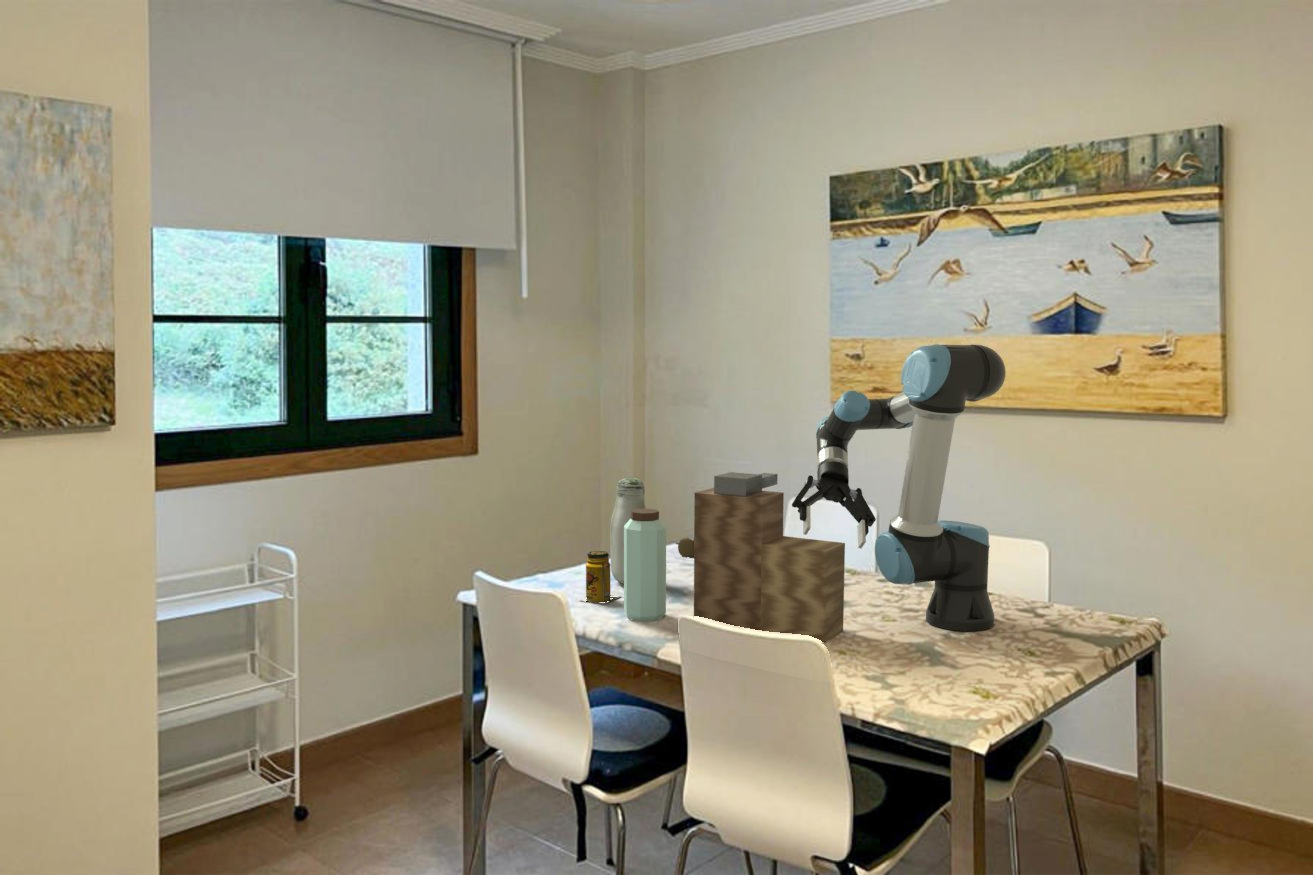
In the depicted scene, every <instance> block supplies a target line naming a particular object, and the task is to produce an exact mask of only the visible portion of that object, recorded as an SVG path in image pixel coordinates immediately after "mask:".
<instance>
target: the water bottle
mask: <svg viewBox="0 0 1313 875" xmlns="http://www.w3.org/2000/svg"><path fill="white" fill-rule="evenodd" d="M659 518H660V511H659V510H658V509H655V508H646V509H635V510H631V519H630V520H629V521H628V522H627V523H626V524H625V526H624V583H623V611H624V612H625V615H626V616H627V618H628V619H629V620H631V619H632V620H631V621H636V620H637V621H636V622H655V621H657V620H660V619H662V618H664V616H665V615H666V613H667V527H666V526H665V525H664V523H663V522H662V521H661V520H660V519H659ZM654 620H655V621H654Z"/></svg>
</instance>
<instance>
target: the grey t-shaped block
mask: <svg viewBox="0 0 1313 875" xmlns="http://www.w3.org/2000/svg"><path fill="white" fill-rule="evenodd" d="M713 477H714V478H713V485H714V486H713V488H714V494H722V495H732V496H743V497H747V496H750V495H754V494H757V493H761V492H762V491H763V489H765V488H769V487H772V486H773V487H774V486H776V485H778V473H772V472H771V473H769V472H768V473H767V472H763V473H759V474H758V473H757V474H756V473H747V472H746V473H745V472H732V471H729V472H726V473H723V474H718V475H714V476H713Z"/></svg>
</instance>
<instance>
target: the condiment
mask: <svg viewBox="0 0 1313 875" xmlns="http://www.w3.org/2000/svg"><path fill="white" fill-rule="evenodd" d="M609 556H610V554H609V552H607V551H604V550H593V551H592V550H591V551H589V552H588V553H587V556H586V558H587V559H586V560H587V562H586V565H585V598H587V599H586V600H587V601H589V602H595V603H594V604H600V605H606V604H609V603H608V602H607V601H611V602H614V601H615V600H617V599H619V598H621V597H622V595H617V596H618V597H610V596H612V595H611V562H610V558H609ZM610 598H613V599H612V600H610ZM580 602H585V603H587V602H586V601H583V599H581V601H580ZM589 602H588V603H589ZM599 602H605V603H599Z"/></svg>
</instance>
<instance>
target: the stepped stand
mask: <svg viewBox="0 0 1313 875" xmlns="http://www.w3.org/2000/svg"><path fill="white" fill-rule="evenodd" d="M784 494H785V493H784V492H781V491H770V490H762V492H761V493H757V494H754V495H750V496H747V497H743V496H732V495H722V494H714V487H712V488H707V489H702V490H699V491H696V492H694V502H693V503H694V510H693V511H694V513H693V514H694V516H693V517H694V519H693V520H694V521H693V522H694V523H693V524H694V525H693V526H694V528H693V531H694V533H693V536H694V537H693V539H694V556H693V617H694V616H699V617H704V618H708V619H712V620H715V621H719V622H723V623H726V624H730V625H734V626H740V627H744V628H750V629H755V630H762V631H769V632H780V633H792V634H801V635H809V636H812V637H814V638H817V639H819V640H821V641H822V642H824V644H826V643H827V642H829V641H831V640H832V639H833V638H835V637H837V636H838V635H840V634H842V633H843V632H844V612H845V610H844V608H845V607H844V606H845V604H844V602H845V567H846V566H845V558H846V556H845V554H846V553H845V551H846V543H845V542H839V541H830V540H829V541H828V540H823V539H822V540H821V539H813V538H812V539H811V538H804V537H797V536H795V537H793V536H786V535H784V503H785V502H784V500H785V499H784V496H785V495H784Z"/></svg>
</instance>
